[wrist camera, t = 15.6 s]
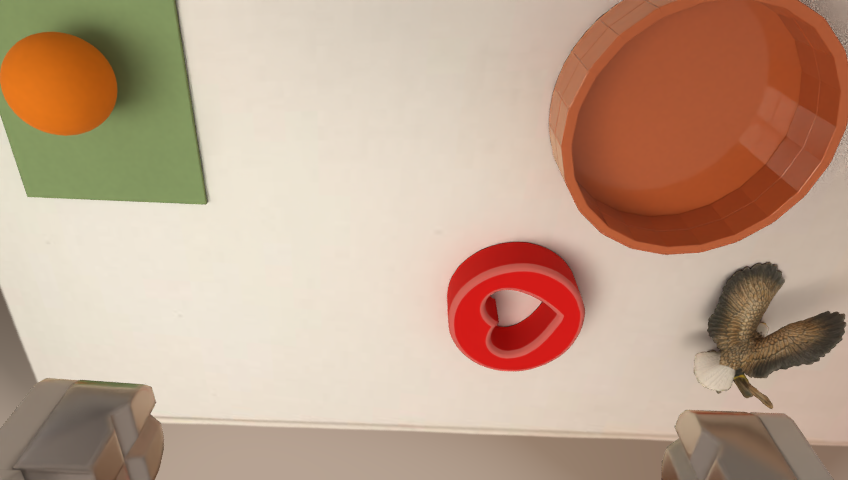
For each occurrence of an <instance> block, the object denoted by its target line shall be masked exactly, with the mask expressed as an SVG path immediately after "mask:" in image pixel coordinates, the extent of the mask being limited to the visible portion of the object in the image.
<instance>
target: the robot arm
mask: <svg viewBox="0 0 848 480" xmlns="http://www.w3.org/2000/svg"><path fill="white" fill-rule="evenodd" d="M155 404H156V401H155V397H154V394H153V390H152V387H150V386H147V385H144V384H130V383H116V382H103V381H89V380H67V379H53V378H46V379H44V380H42V381H40V382H39V383H37V384H36V385H34V387H33V388H32V389H31V390H30V392H29V393H28V394H27V395H26V397H25V398H24V399H23V400H22V402H21V403H20V404H19V405H18V407H17V408H16V409H15V411H14V412H13V413H12V414H11V416H10V417H9V418H8V419H7V421H6V422H5V423H4V424H3V426H2V427H1V428H0V480H155V478H156V475H157V473H158V471H159V468H160V464H161V459H162V455H163V450H164V435H163V431H162V426H161V423H160V422H159V421H158V420H156V419H155V418H154V417H153V416H152V415H151V414H150V413H151V412H152V410H153V408H154V406H155ZM675 429H676V431H677V434H678V436H679V439H677V440H676V441H675V442H673V443H672V444H670V445H669V446H668V447H667V448H666V451H665V454H664V457H663V460H662V480H834V479H833V478H832V476H831V475H830V473H829V472H828V470H827V469H826V467H825V466H824V465H823V463H822V462H821V460H820V459H819V457H818V456H817V454H816V453H815V451H814V450H813V448H812V447H811V445H810V444H809V443H808V441H807V440H806V438H805V437H804V435H803V434H802V432H801V431H800V429H799V428H798V426H797V425H796V424H795V422H794V421H793V420H792V419H791V418H790V417H788V416H787V415H786V414H782V413H756V412H751V413H747V412H731V411H704V410H685V411H684V412H683V413H682V414H680V415H679V417H678V420H677V422H676V425H675Z"/></svg>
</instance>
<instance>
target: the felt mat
mask: <svg viewBox="0 0 848 480" xmlns="http://www.w3.org/2000/svg"><path fill="white" fill-rule="evenodd" d="M41 32H61V33H66V34H70V35H73V36H76V37H78V38H81V39H83V40H85V41H86V42H88V43H90V44H91V45H93V46H94V47H95V48H96V49H98V50H99V51H100V52H101V53H102V54H103V55H104V57H105V58H106V59H107V61H108V62H109V64H110V65H111V67H112V69H113V71H114V74H115V77H116V82H117V99H116V103H115V106H114V109H113V110H112V112H111V114H110V115H109V117H108V118H107V119H106V120H105V121H104V122H103V123H102V124H101V125H99V126H98V127H96V128H94V129H93V130H91V131H88V132H85V133H82V134H78V135H68V136H63V135H55V134H49V133H46V132H43V131H41V130H38V129H36V128H34V127H32V126H30V125H29V124H27V123H26V122H24V121H23V120H22V119H20V118H19V117H18V116H17V115H16V114H15V113H14V111H13V110H12V109H11V108H10V106H9V105H8V103H7V101H6V100H5V97H4V95H3V92H2V89H1V84H0V115H1V118H2V121H3V124H4V127H5V130H6V133H7V136H8V139H9V142H10V145H11V148H12V151H13V154H14V157H15V160H16V163H17V167H18V170H19V173H20V176H21V179H22V182H23V185H24V188H25V191H26V194H27V197H43V198H67V199H90V200H113V201H137V202H160V203H183V204H207V198H206V192H205V185H204V179H203V173H202V166H201V160H200V154H199V148H198V141H197V135H196V129H195V122H194V116H193V110H192V104H191V97H190V91H189V85H188V78H187V72H186V66H185V59H184V53H183V47H182V41H181V34H180V28H179V22H178V15H177V9H176V3H175V0H0V70H1V65H2V62H3V60H4V58H5V56H6V54H7V52H8V51H9V50H10V49H11V48H12V47H13V46H14V45H15V44H16V43H17V42H18V41H20V40H22V39H23V38H25V37H27V36H30V35H33V34H36V33H41Z"/></svg>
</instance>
